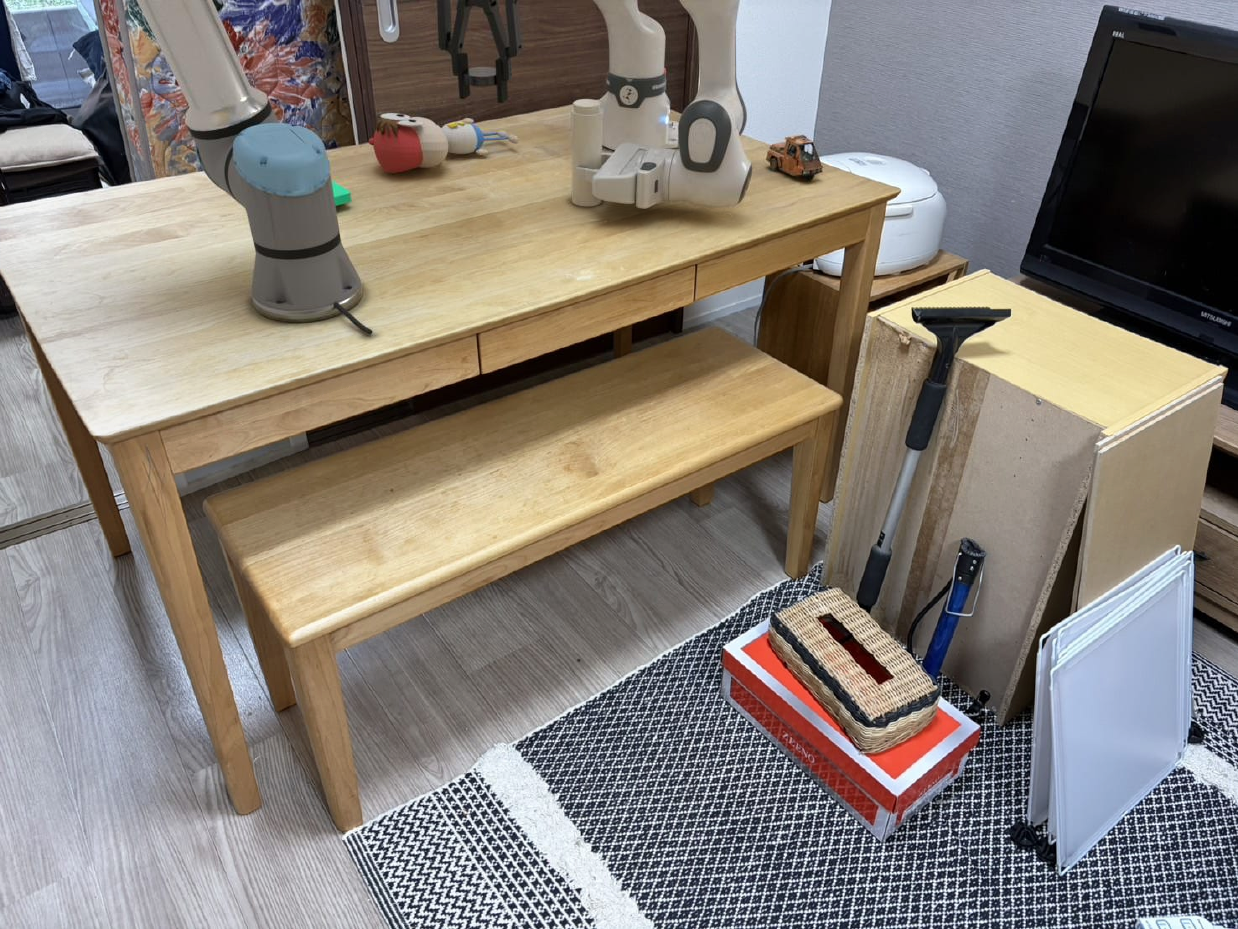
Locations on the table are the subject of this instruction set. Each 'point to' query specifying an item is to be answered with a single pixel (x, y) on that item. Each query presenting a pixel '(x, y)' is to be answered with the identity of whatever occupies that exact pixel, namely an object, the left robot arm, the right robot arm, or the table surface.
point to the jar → (585, 147)
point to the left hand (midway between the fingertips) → (483, 98)
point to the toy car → (795, 157)
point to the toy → (425, 141)
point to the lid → (480, 76)
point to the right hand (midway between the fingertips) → (581, 165)
